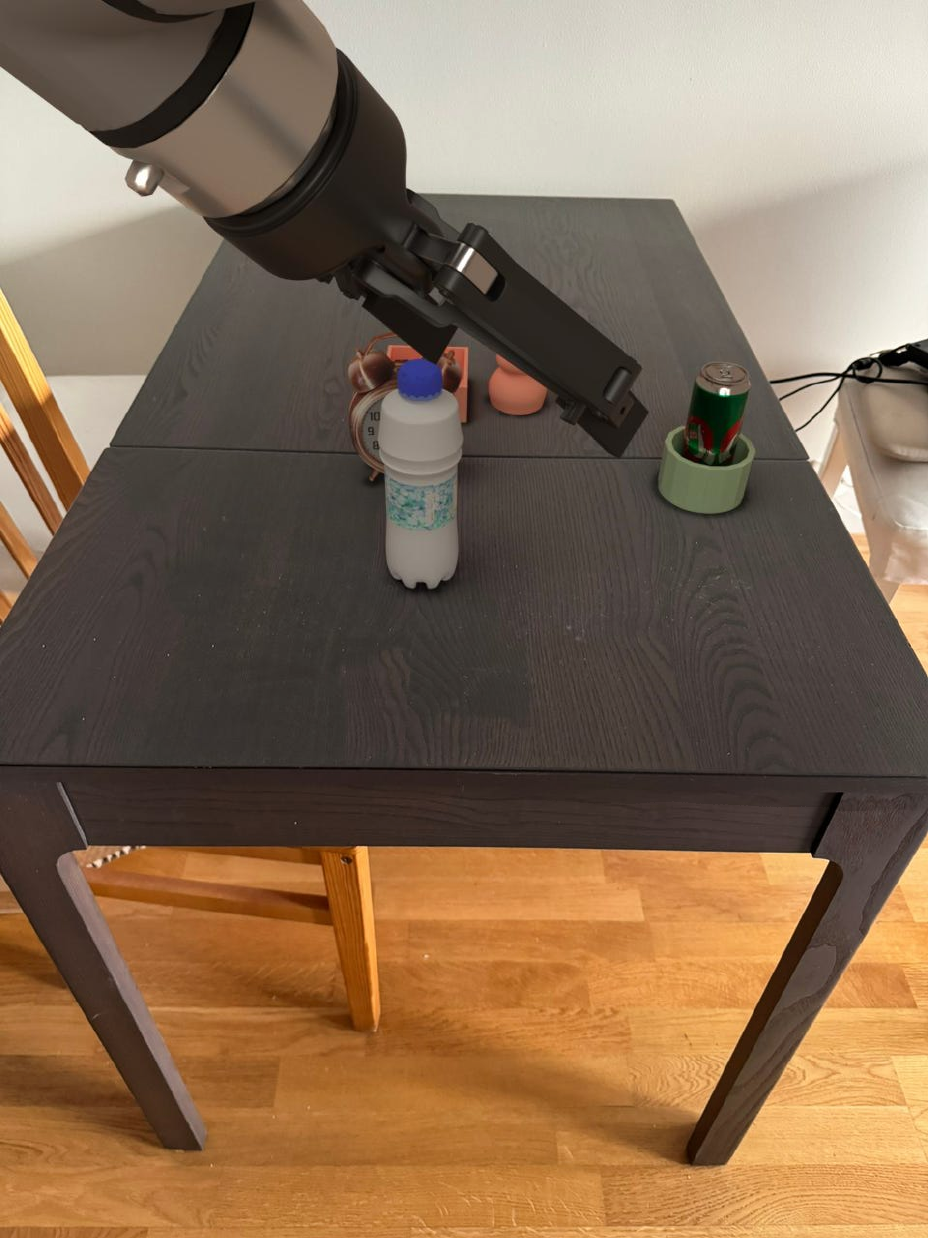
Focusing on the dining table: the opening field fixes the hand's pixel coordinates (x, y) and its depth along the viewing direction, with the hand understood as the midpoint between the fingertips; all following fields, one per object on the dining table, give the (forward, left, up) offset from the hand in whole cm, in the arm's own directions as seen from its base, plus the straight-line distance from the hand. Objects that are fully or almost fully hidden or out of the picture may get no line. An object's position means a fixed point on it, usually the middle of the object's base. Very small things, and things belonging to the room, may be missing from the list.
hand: (529, 384), depth 50 cm
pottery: (+21, -44, -28) cm, 56 cm away
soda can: (-7, -37, -27) cm, 46 cm away
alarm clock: (+21, -28, -28) cm, 45 cm away
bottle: (+13, -14, -28) cm, 34 cm away
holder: (-7, -37, -28) cm, 47 cm away
